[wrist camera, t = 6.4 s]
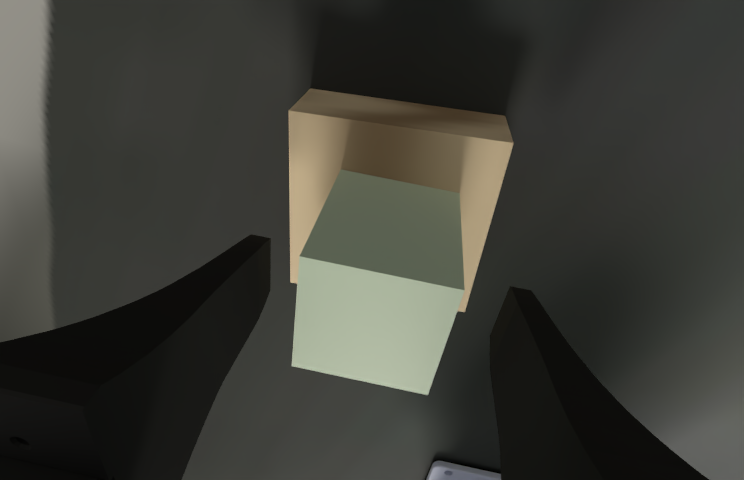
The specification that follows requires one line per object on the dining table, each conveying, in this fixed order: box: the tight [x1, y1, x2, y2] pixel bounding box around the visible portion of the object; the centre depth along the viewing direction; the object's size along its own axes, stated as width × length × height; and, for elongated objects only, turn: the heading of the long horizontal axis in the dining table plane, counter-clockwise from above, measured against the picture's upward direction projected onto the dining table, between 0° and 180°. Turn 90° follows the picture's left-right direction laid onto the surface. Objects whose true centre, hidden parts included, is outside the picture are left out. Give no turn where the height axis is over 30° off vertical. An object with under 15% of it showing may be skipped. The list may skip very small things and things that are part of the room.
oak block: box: [289, 88, 514, 312], centre depth 17 cm, size 7×7×3 cm
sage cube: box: [292, 170, 465, 395], centre depth 14 cm, size 4×4×5 cm
